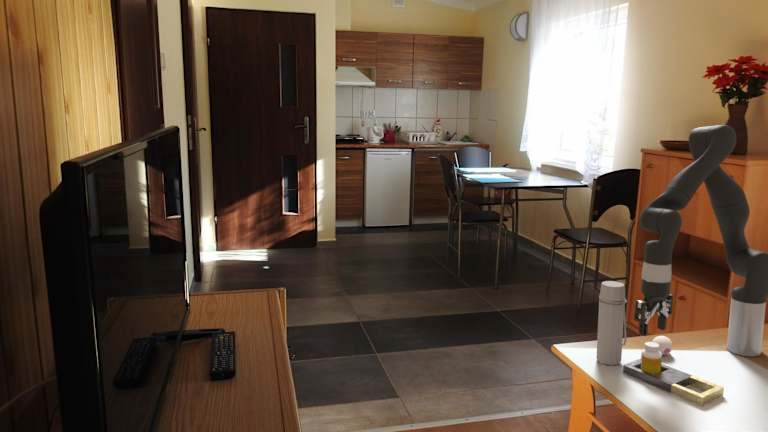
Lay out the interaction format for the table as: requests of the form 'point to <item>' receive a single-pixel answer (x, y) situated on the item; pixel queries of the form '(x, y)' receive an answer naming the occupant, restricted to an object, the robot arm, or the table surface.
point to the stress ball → (663, 344)
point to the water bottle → (611, 323)
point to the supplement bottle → (651, 358)
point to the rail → (676, 383)
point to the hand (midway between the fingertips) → (652, 332)
